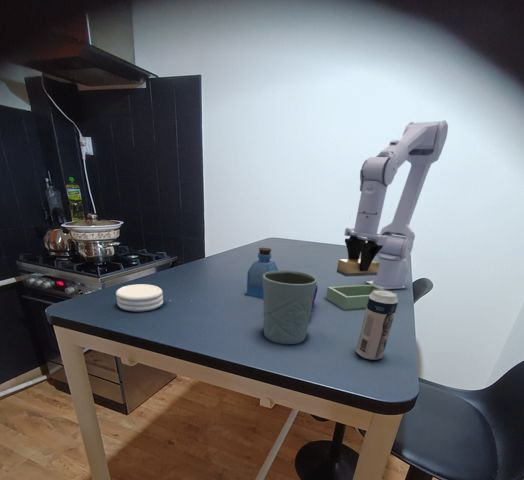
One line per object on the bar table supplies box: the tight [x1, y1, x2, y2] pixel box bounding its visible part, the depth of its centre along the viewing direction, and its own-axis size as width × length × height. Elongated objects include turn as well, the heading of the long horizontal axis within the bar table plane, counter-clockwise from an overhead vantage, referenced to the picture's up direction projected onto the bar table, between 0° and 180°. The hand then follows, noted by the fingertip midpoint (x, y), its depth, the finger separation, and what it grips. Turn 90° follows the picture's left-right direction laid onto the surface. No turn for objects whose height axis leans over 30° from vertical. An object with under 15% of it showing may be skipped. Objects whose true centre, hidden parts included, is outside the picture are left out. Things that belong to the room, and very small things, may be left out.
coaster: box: [115, 283, 164, 313], centre depth 73 cm, size 10×10×4 cm
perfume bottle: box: [246, 247, 279, 299], centre depth 84 cm, size 6×6×12 cm
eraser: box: [336, 258, 380, 277], centre depth 84 cm, size 10×4×3 cm, turn 111°
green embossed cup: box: [262, 269, 318, 345], centre depth 62 cm, size 10×10×12 cm
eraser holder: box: [325, 284, 384, 311], centre depth 85 cm, size 15×9×3 cm, turn 112°
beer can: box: [355, 289, 399, 361], centre depth 56 cm, size 5×5×12 cm
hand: (357, 268), depth 84 cm, fingers closed on eraser, 4 cm apart
